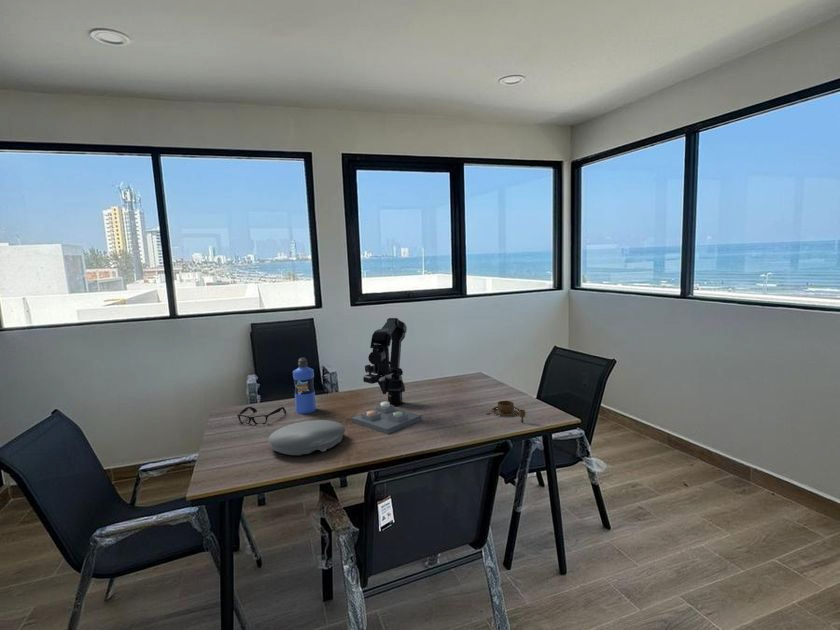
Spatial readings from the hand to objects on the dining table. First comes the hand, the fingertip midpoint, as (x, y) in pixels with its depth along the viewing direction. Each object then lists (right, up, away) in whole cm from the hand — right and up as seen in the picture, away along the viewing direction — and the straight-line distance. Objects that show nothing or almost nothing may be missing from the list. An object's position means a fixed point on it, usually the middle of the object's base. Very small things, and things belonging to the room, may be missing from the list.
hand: (384, 394), depth 198 cm
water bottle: (-37, -10, +12) cm, 40 cm away
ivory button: (0, -6, +1) cm, 6 cm away
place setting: (+53, -9, -5) cm, 54 cm away
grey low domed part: (-27, -14, -28) cm, 41 cm away
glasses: (-56, -12, +4) cm, 57 cm away
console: (+1, -10, -7) cm, 12 cm away
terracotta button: (-5, -8, -8) cm, 12 cm away
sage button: (+6, -8, -10) cm, 15 cm away
